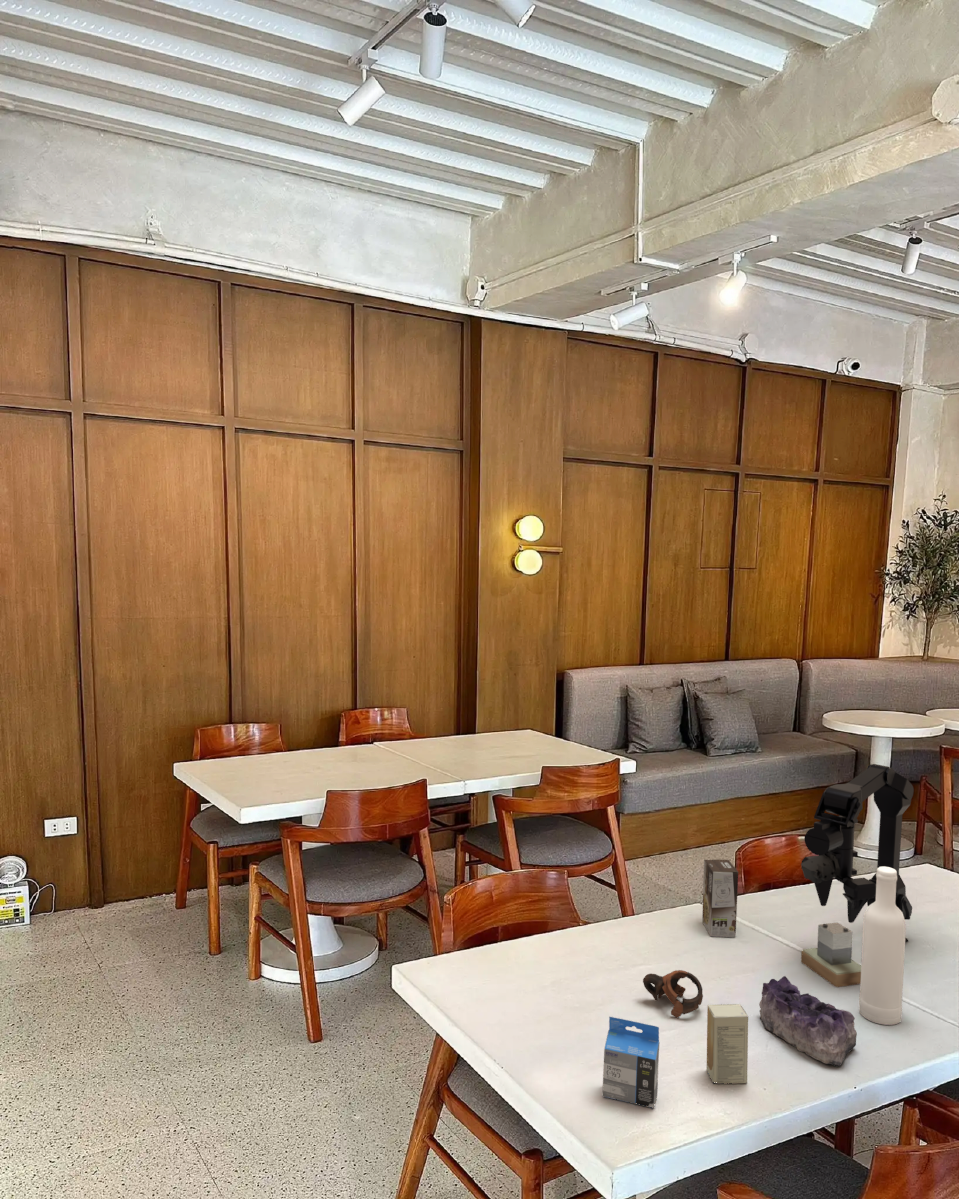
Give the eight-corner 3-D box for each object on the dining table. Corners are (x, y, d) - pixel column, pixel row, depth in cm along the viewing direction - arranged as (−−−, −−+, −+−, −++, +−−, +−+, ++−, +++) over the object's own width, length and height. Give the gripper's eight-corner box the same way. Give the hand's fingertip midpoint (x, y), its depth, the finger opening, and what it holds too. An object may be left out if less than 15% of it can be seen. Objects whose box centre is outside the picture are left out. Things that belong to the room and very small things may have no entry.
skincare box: (739, 1069, 158) (742, 1003, 157) (747, 1084, 154) (750, 1016, 153) (704, 1069, 158) (706, 1003, 157) (711, 1084, 154) (713, 1016, 153)
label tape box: (601, 1097, 149) (603, 1026, 149) (606, 1084, 153) (608, 1015, 152) (653, 1110, 146) (656, 1038, 145) (658, 1096, 150) (660, 1025, 149)
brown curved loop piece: (696, 997, 185) (708, 973, 180) (692, 1037, 177) (704, 1013, 173) (640, 976, 187) (650, 953, 182) (634, 1016, 179) (644, 992, 174)
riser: (830, 958, 203) (831, 945, 203) (867, 983, 192) (868, 969, 191) (801, 962, 201) (801, 949, 201) (836, 987, 189) (836, 973, 189)
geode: (738, 1025, 174) (743, 973, 174) (775, 1016, 180) (780, 967, 181) (830, 1072, 157) (835, 1015, 157) (868, 1061, 163) (872, 1006, 164)
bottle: (883, 1029, 173) (890, 878, 171) (849, 1010, 180) (856, 865, 178) (910, 1020, 176) (917, 872, 175) (876, 1002, 183) (883, 860, 182)
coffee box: (736, 937, 213) (739, 872, 212) (710, 937, 213) (712, 871, 212) (727, 922, 222) (729, 858, 221) (701, 921, 222) (703, 858, 221)
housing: (817, 955, 198) (818, 923, 197) (836, 952, 199) (837, 921, 199) (831, 965, 193) (833, 932, 193) (851, 962, 194) (852, 930, 194)
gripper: (782, 834, 203) (780, 901, 203) (837, 862, 185) (834, 935, 186) (823, 830, 206) (821, 896, 207) (881, 858, 188) (878, 930, 189)
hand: (836, 913), depth 197 cm, fingers open, 9 cm apart
